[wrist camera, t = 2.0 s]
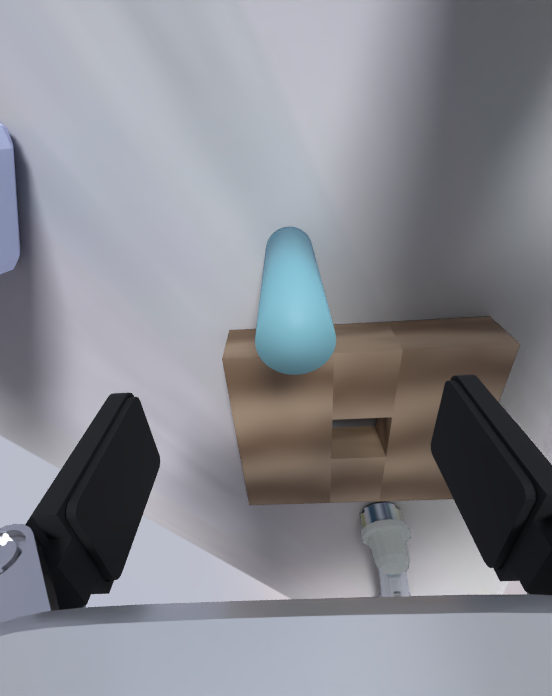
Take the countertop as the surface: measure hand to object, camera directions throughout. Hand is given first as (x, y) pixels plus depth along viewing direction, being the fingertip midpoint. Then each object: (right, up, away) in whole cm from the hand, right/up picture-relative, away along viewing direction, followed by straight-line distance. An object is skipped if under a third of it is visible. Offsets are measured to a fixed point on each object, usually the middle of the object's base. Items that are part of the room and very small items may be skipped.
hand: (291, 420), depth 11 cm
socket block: (+6, -3, +21) cm, 22 cm away
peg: (0, +9, +13) cm, 16 cm away
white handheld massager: (+14, -25, +35) cm, 45 cm away
